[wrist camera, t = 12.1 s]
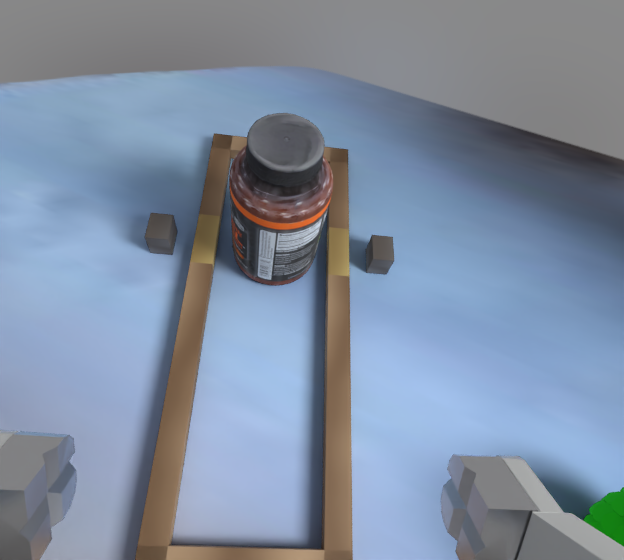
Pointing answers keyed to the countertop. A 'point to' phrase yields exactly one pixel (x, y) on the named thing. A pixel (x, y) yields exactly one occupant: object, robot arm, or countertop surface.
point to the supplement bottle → (279, 198)
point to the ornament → (609, 516)
